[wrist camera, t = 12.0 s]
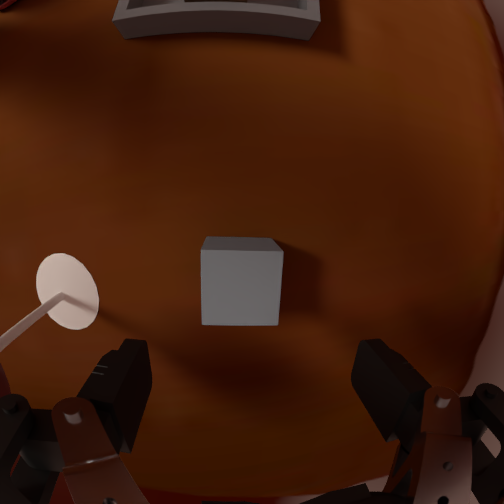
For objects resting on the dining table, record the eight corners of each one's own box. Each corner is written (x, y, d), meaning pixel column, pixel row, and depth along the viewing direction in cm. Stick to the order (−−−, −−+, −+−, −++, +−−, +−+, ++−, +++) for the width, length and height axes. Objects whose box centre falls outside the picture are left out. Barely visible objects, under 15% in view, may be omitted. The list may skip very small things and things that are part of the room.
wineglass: (95, 346, 23) (-5, 511, 3) (28, 306, 21) (-98, 414, 2) (114, 276, 22) (-55, 449, 2) (39, 235, 20) (-139, 313, 1)
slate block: (206, 297, 23) (202, 324, 18) (206, 236, 22) (201, 249, 17) (267, 297, 23) (277, 325, 18) (271, 237, 22) (283, 251, 17)
